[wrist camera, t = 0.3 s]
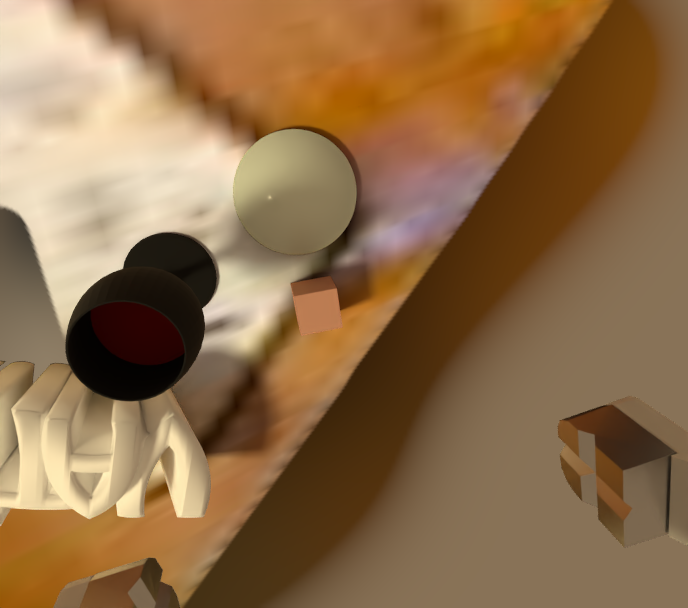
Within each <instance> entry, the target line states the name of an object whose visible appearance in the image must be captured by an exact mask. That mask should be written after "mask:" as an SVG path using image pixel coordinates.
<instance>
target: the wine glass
mask: <svg viewBox="0 0 688 608" xmlns="http://www.w3.org/2000/svg"><path fill="white" fill-rule="evenodd" d="M216 279H217V278H216V270H215V266H214V264H213V261H212V259H211V258H210V256H209V254H208V253H207V252H206V251H205V250H204V248H203V247H201V246H200V245H199V244H198V243H196V242H195V241H193V240H192V239H190V238H187V237H185V236H182V235H178V234H172V233H161V234H155V235H152V236H149V237H147V238H145V239H143V240H141V241H140V242H139V243H137V244H136V245H135V246H134V247H133V248H132V249H131V250H130V252H129V254H128V255H127V257H126V260H125V262H124V267H123V269H122V270H119V271H116V272H113V273H111V274H109V275H107V276H105V277H103V278H101V279H100V280H99V281H97V282H96V283H95V284H94V285H92V286H91V287H90V288H89V289H88V290H87V291H86V293H85V294H84V295H83V296H82V297H81V299H80V300H79V302H78V304H77V305H76V307H75V309H74V311H73V313H72V316H71V319H70V321H69V325H68V330H67V335H66V356H67V360H68V363H69V366H70V368H71V370H72V371H73V373H74V374H75V376H76V377H77V378H78V379H79V380H80V382H81V383H83V384H84V385H85V386H86V387H87V388H89V389H90V390H92V391H93V392H95V393H97V394H99V395H101V396H103V397H107V398H110V399H113V400H119V401H130V402H132V401H142V400H147V399H150V398H153V397H156V396H158V395H160V394H162V393H164V392H165V391H167V390H168V389H169V388H171V387H172V386H173V385H174V384H176V383H177V382H178V381H179V380H180V379H181V378H182V377H183V376H184V375H185V374H186V372H187V371H188V370H189V368H190V367H191V366H192V364H193V363H194V361H195V360H196V357H197V355H198V353H199V351H200V349H201V346H202V342H203V338H204V330H205V322H204V315H203V311H202V308H203V307H204V306H205V305H206V304H207V303H208V302H209V300H210V299H211V297H212V295H213V293H214V290H215V286H216Z"/></svg>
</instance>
